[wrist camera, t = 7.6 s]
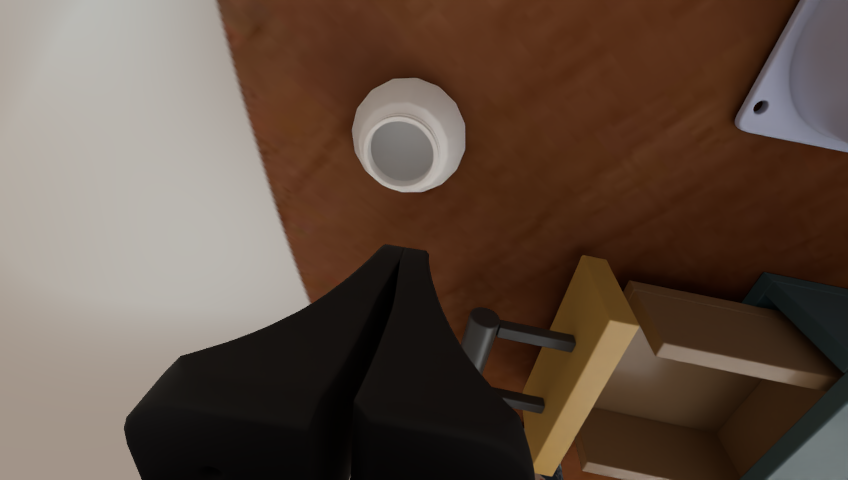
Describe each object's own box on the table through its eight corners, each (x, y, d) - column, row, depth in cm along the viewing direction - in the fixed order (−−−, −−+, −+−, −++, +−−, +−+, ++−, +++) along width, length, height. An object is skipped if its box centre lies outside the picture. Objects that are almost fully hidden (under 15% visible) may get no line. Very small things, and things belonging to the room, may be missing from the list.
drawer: (442, 378, 25) (434, 452, 21) (482, 234, 20) (483, 293, 16) (706, 434, 25) (752, 519, 21) (818, 302, 20) (909, 381, 16)
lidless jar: (349, 79, 18) (364, 186, 20) (328, 91, 15) (348, 212, 18) (465, 74, 17) (465, 185, 20) (463, 86, 15) (463, 212, 17)
